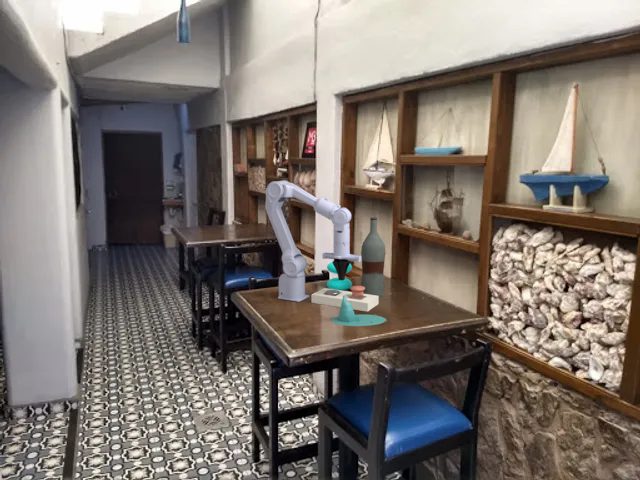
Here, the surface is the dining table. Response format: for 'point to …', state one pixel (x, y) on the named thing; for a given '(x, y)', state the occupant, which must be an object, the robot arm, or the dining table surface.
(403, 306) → the dining table surface
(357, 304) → the socket block
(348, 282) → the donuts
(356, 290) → the red plug
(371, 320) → the teal witch hat
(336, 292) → the grey plug
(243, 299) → the dining table surface
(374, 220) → the bottle
